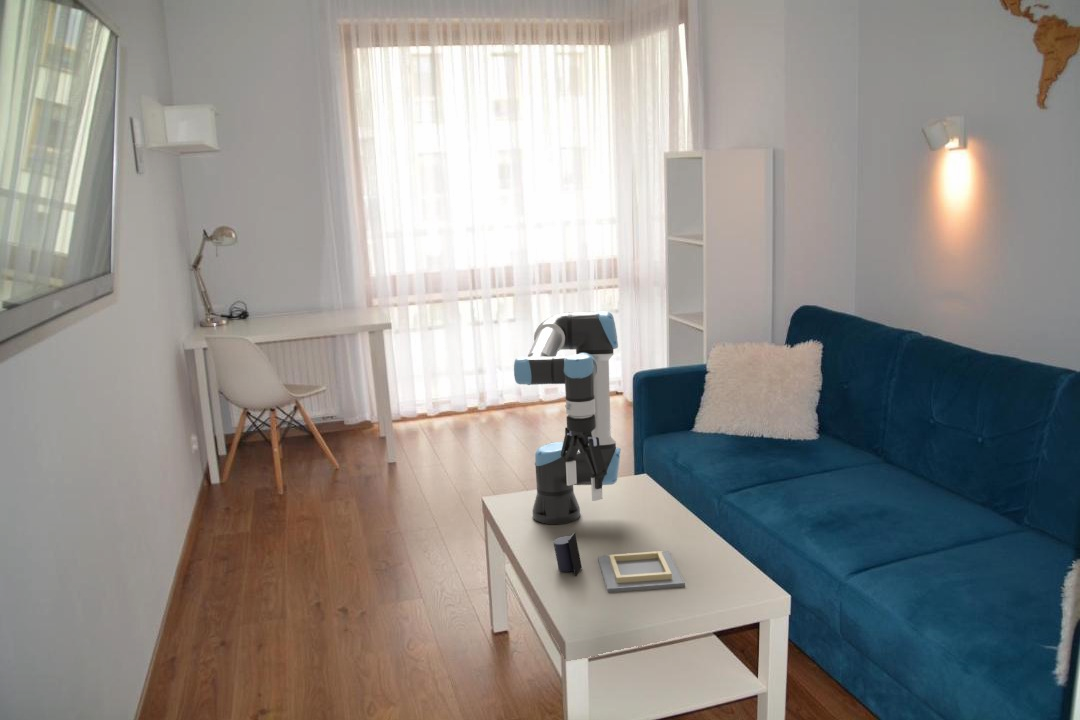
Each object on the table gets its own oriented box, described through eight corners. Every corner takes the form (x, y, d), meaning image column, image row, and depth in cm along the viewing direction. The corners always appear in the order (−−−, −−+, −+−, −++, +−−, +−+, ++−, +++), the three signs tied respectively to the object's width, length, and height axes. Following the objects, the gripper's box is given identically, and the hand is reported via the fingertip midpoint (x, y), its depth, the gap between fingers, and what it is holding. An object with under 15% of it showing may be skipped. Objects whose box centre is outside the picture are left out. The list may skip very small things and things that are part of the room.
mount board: (598, 559, 240) (597, 551, 240) (669, 554, 241) (668, 546, 241) (607, 592, 221) (607, 583, 220) (684, 586, 222) (684, 577, 221)
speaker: (588, 567, 235) (583, 532, 233) (576, 576, 231) (570, 540, 229) (567, 563, 240) (561, 529, 238) (554, 572, 236) (548, 537, 234)
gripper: (546, 406, 233) (550, 481, 237) (592, 428, 211) (595, 509, 215) (570, 402, 236) (573, 475, 240) (618, 422, 214) (621, 503, 218)
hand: (584, 492), depth 228 cm, fingers open, 13 cm apart
